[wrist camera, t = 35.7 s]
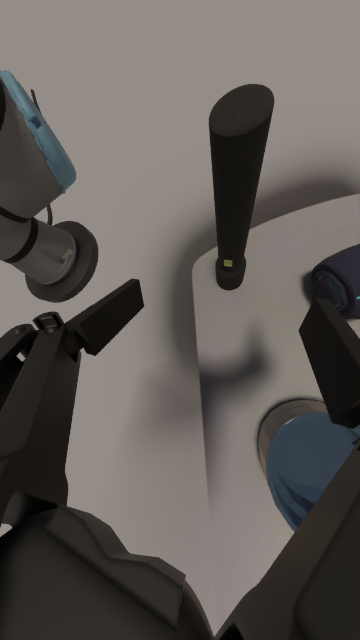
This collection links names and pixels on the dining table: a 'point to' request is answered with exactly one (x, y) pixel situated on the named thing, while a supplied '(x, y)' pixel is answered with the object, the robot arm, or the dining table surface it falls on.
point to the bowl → (302, 455)
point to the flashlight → (237, 172)
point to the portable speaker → (340, 281)
